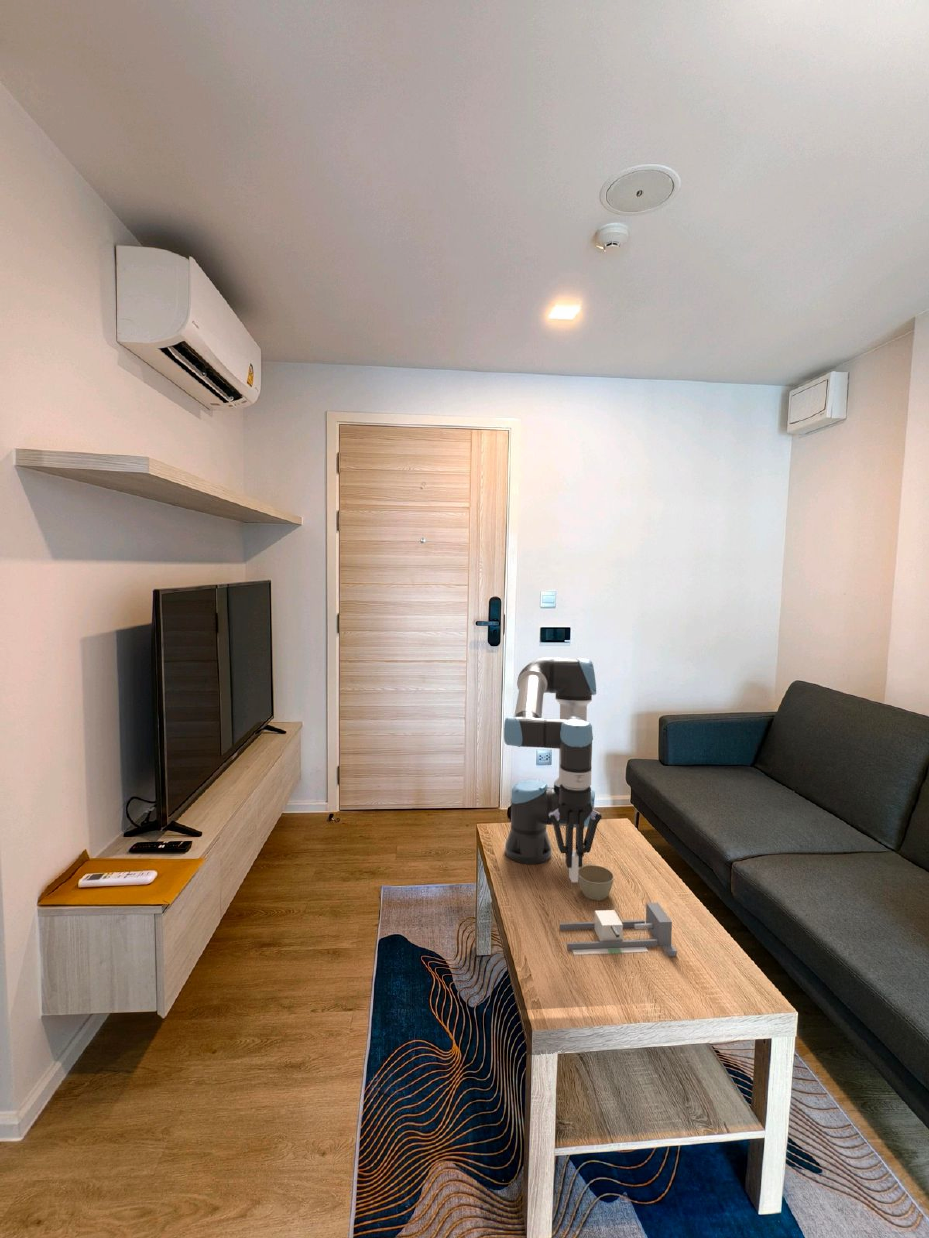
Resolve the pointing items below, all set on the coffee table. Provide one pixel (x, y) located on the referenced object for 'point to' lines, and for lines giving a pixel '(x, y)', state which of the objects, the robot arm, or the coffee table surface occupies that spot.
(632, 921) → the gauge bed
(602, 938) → the cream block
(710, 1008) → the coffee table surface
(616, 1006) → the coffee table surface
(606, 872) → the flower pot
